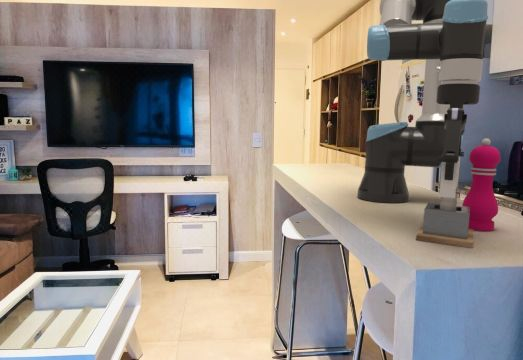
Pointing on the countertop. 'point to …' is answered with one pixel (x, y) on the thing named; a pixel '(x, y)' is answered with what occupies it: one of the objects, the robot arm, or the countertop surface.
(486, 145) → the pepper mill
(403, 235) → the countertop surface
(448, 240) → the peg on square base
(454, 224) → the grey square ring block
